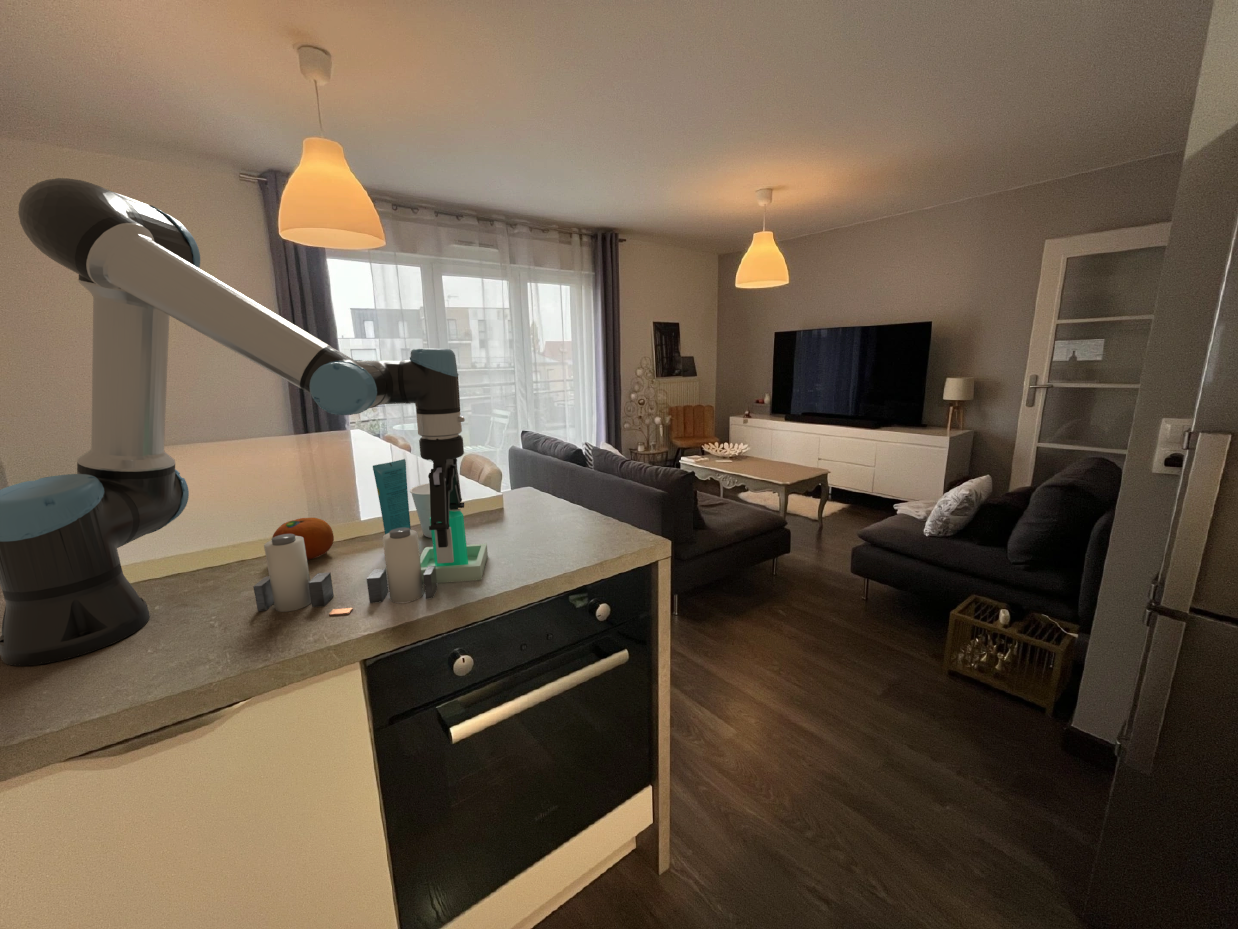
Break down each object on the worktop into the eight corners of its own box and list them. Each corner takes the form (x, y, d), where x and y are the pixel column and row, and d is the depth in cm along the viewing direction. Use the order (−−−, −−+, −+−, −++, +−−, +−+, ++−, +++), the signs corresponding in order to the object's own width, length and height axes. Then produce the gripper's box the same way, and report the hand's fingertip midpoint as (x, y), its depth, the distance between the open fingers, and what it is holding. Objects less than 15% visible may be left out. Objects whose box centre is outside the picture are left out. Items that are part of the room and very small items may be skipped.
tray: (412, 584, 90) (411, 570, 89) (426, 560, 100) (425, 547, 100) (481, 580, 91) (480, 565, 91) (487, 556, 102) (486, 543, 101)
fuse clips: (245, 622, 78) (240, 596, 77) (269, 600, 84) (265, 576, 83) (428, 608, 81) (425, 583, 80) (437, 588, 88) (435, 565, 87)
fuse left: (268, 613, 80) (255, 544, 78) (285, 597, 86) (274, 532, 83) (304, 610, 81) (293, 542, 78) (318, 594, 86) (308, 530, 84)
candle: (458, 574, 92) (452, 512, 90) (429, 572, 93) (422, 511, 91) (473, 561, 98) (468, 502, 95) (445, 559, 99) (439, 501, 96)
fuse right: (385, 604, 83) (377, 537, 80) (395, 589, 88) (387, 526, 85) (419, 601, 84) (412, 535, 81) (426, 587, 89) (420, 524, 86)
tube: (405, 542, 110) (396, 457, 106) (421, 545, 108) (413, 459, 104) (376, 554, 103) (365, 464, 99) (393, 558, 101) (383, 466, 97)
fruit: (327, 544, 109) (322, 509, 108) (342, 557, 102) (337, 520, 100) (269, 558, 102) (263, 521, 100) (281, 573, 95) (274, 534, 93)
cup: (416, 529, 118) (411, 484, 116) (459, 524, 121) (456, 480, 119) (412, 543, 109) (407, 495, 107) (460, 538, 112) (456, 491, 109)
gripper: (451, 446, 80) (461, 574, 85) (471, 426, 101) (478, 529, 106) (402, 447, 79) (415, 578, 84) (432, 427, 100) (442, 531, 105)
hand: (451, 550), depth 95 cm, fingers open, 10 cm apart
